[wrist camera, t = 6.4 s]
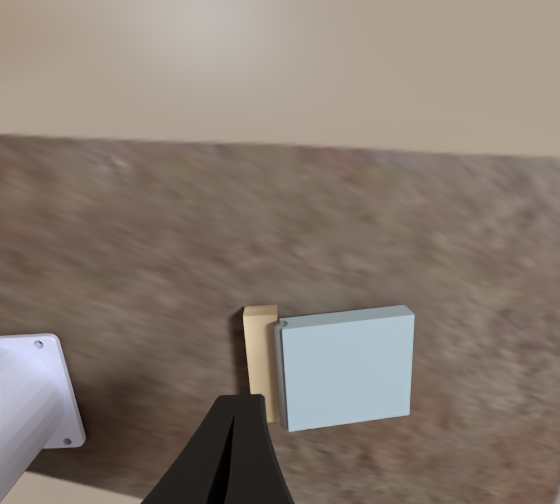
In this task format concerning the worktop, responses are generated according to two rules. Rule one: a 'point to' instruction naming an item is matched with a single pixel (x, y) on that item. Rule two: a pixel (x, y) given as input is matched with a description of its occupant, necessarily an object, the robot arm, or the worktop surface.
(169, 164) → the worktop surface
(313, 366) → the panel
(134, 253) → the worktop surface
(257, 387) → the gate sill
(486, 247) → the worktop surface
